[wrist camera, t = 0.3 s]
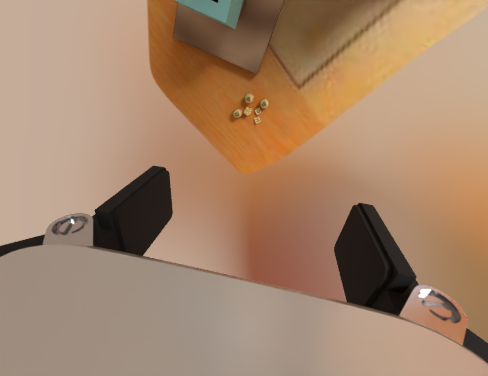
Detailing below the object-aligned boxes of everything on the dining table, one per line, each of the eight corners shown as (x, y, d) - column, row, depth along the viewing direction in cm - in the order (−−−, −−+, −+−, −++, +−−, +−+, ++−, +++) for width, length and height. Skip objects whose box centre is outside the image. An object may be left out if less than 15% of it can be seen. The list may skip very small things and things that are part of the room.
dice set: (233, 113, 39) (231, 115, 37) (246, 86, 36) (244, 87, 35) (257, 127, 39) (256, 129, 38) (271, 101, 37) (271, 102, 35)
